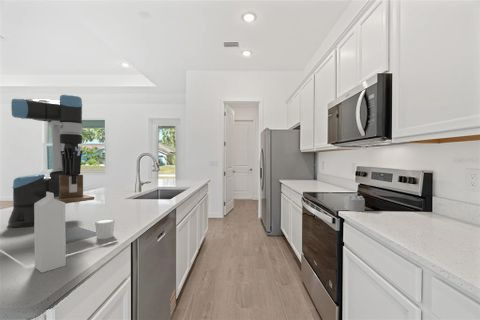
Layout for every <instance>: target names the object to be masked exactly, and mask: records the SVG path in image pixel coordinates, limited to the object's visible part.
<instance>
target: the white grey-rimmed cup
mask: <svg viewBox="0 0 480 320" xmlns="http://www.w3.org/2000/svg"><path fill="white" fill-rule="evenodd" d="M94 226H95V232H96V235H97V236H96V239H98V240H107V239H112V238H113V237H114V230H115V229H114V228H115V219H114V218H104V219H99V220H96V221H94Z"/></svg>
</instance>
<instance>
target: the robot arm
mask: <svg viewBox="0 0 480 320" xmlns="http://www.w3.org/2000/svg"><path fill="white" fill-rule="evenodd" d="M10 103H11V105H10V107H11V109H10V110H11V116H12V117H13V118H16V119H22V120H25V119H26V120H34V121H39V122H47V124H48V126H50V127H51V133H52V134H51V138H52V142H51V143H52V170H51V171H50V172H49V176H45V173H36V174H35V173H34V174H29V175H22V176H21V175H20V176H18V177H15V178H14V179H13V184H12V185H13V186H12V190H13V191H12V192H13V193H12V204H13V205H12V206H13V207H12V211H11V214H10V216H9V219H8V221H7V223H8V224H7V226H8V227H10V228H26V227H34V203H36V202H38V201H39V200H41V199H43V198H44V197H46V192H51V193H53V194H54V197H59V176H63V175H68V176H69V193H72V192H77V176H78V175H81V169H82V168H81V166H82V156H83V150H81V149H79V145H82V143H83V136H82V135H83V117H82V116H83V101H82V98H81V97H80V96H78V95H74V94H61V95H60V96H59V100H52V99H44V98H26V99H24V98H12V100H11V101H10Z"/></svg>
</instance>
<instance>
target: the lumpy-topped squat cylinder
mask: <svg viewBox="0 0 480 320" xmlns="http://www.w3.org/2000/svg"><path fill="white" fill-rule="evenodd" d="M365 207H366V200H365V198H364V196H363V195H356V194H350V195H349V194H348V195H346V196H344V209H345V210H348V211H351V212H356V213H359V212H360V213H361V212H362V213H363V212H364V211H366V210H365Z"/></svg>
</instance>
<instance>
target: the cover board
mask: <svg viewBox="0 0 480 320" xmlns="http://www.w3.org/2000/svg"><path fill="white" fill-rule="evenodd" d="M54 199H57V200H59V201H62V202H64V203H65V205H66V204H72V203H80V202H87V201H93V200H95V196H91V195H87V194H84V174H80V175H78V176H77V192H72V193H69V176H68V175H63V176H59V197H54Z"/></svg>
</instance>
